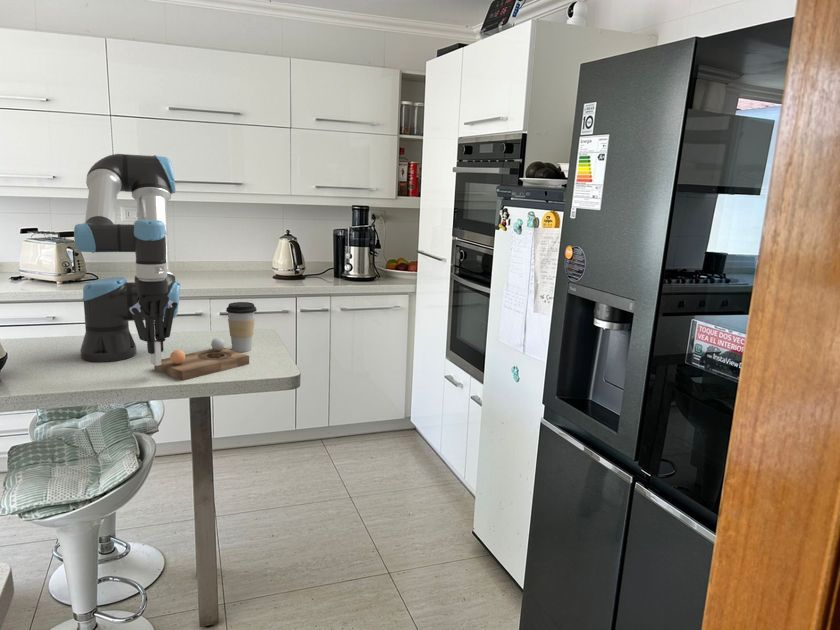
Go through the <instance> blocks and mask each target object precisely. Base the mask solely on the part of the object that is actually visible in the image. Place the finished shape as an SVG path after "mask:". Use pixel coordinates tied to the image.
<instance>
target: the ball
mask: <svg viewBox="0 0 840 630" xmlns="http://www.w3.org/2000/svg"><path fill="white" fill-rule="evenodd" d="M169 358H170V359H171V361H172V362H173V363H174V364H181V363H183V362H184V360H185V352H184V351H183V350H181V349H176V350H173V351H172V352H171V353H170V355H169Z"/></svg>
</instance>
